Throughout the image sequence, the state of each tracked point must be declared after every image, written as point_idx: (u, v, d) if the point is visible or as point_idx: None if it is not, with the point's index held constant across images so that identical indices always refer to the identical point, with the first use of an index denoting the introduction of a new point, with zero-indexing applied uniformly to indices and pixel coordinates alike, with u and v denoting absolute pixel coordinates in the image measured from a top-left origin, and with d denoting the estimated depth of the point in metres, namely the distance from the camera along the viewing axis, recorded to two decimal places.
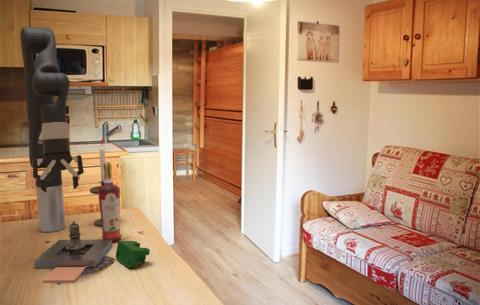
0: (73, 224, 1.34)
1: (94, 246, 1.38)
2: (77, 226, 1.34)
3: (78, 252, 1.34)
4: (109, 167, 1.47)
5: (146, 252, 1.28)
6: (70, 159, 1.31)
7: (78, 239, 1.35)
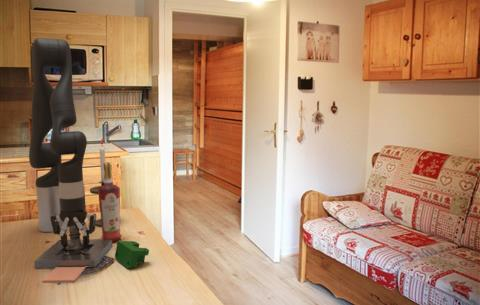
0: None
1: (94, 246, 1.38)
2: None
3: (78, 252, 1.34)
4: (109, 167, 1.47)
5: (145, 252, 1.28)
6: (83, 217, 1.33)
7: (78, 239, 1.35)
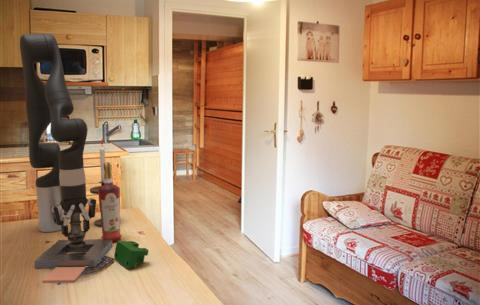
0: None
1: (94, 246, 1.38)
2: (79, 213, 1.35)
3: (83, 238, 1.36)
4: (109, 167, 1.47)
5: (145, 252, 1.28)
6: (86, 202, 1.36)
7: (80, 225, 1.36)
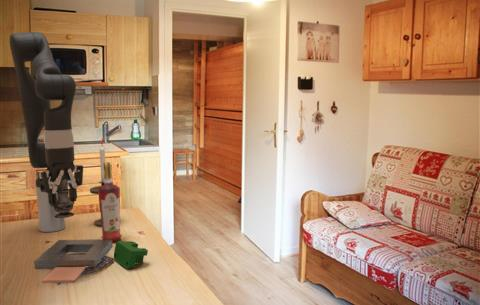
0: None
1: (94, 246, 1.38)
2: None
3: (72, 207, 1.23)
4: (109, 167, 1.47)
5: (144, 253, 1.28)
6: (73, 168, 1.24)
7: None
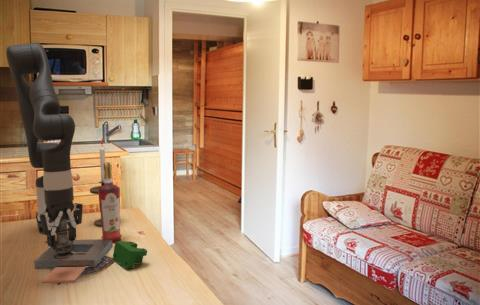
0: None
1: (94, 246, 1.38)
2: None
3: (71, 247, 1.22)
4: (109, 167, 1.47)
5: (143, 253, 1.28)
6: (73, 207, 1.22)
7: None
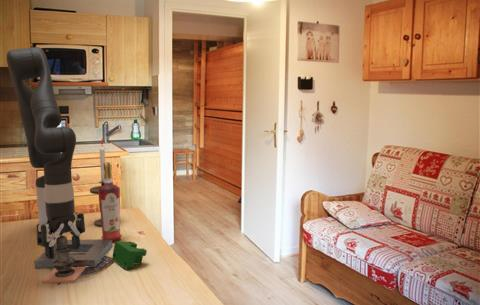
0: (62, 236, 1.20)
1: (94, 246, 1.38)
2: (66, 237, 1.22)
3: None
4: (109, 167, 1.47)
5: (143, 253, 1.28)
6: (74, 219, 1.23)
7: None
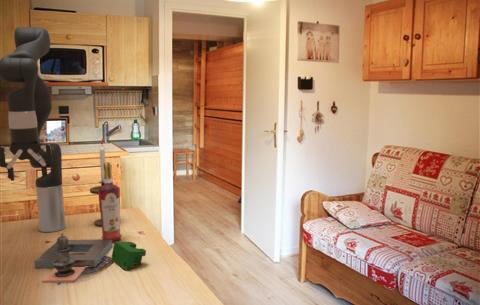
0: (63, 236, 1.21)
1: (94, 246, 1.38)
2: (67, 238, 1.22)
3: None
4: (109, 167, 1.47)
5: (142, 253, 1.27)
6: (38, 148, 1.28)
7: None
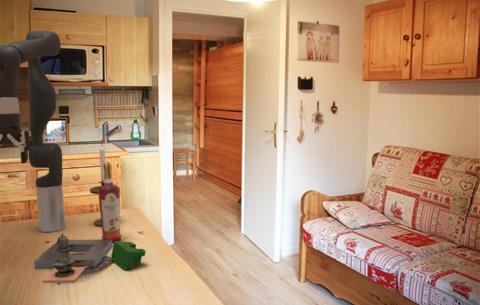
0: (63, 236, 1.21)
1: (94, 246, 1.38)
2: (67, 238, 1.22)
3: None
4: (109, 167, 1.47)
5: (142, 253, 1.27)
6: (17, 134, 1.32)
7: None
